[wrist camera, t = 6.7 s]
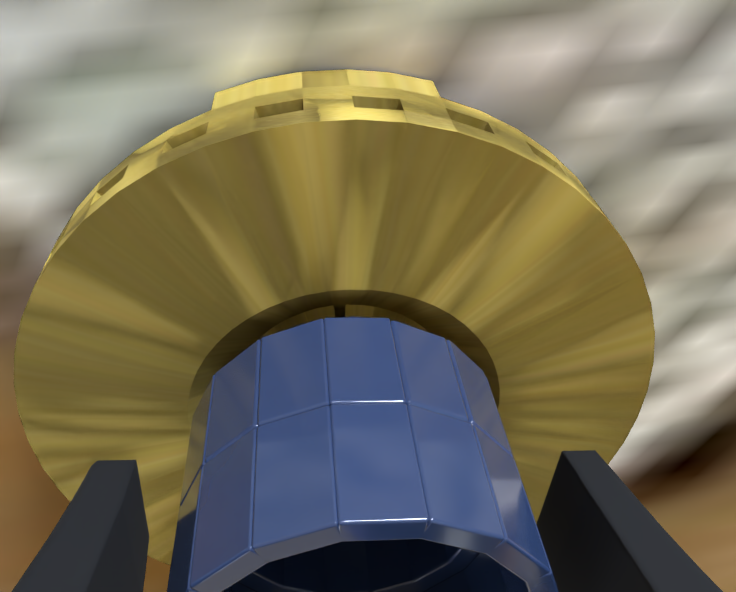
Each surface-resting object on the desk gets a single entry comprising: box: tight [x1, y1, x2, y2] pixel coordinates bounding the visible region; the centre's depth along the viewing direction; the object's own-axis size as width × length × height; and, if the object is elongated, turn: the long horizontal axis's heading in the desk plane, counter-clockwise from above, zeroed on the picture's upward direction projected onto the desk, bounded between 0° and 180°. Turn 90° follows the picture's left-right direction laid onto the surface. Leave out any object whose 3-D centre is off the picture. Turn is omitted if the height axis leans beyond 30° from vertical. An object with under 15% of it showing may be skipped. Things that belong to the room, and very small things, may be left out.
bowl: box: [167, 316, 559, 592], centre depth 12 cm, size 6×6×4 cm
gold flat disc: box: [14, 69, 655, 565], centre depth 15 cm, size 12×12×2 cm
